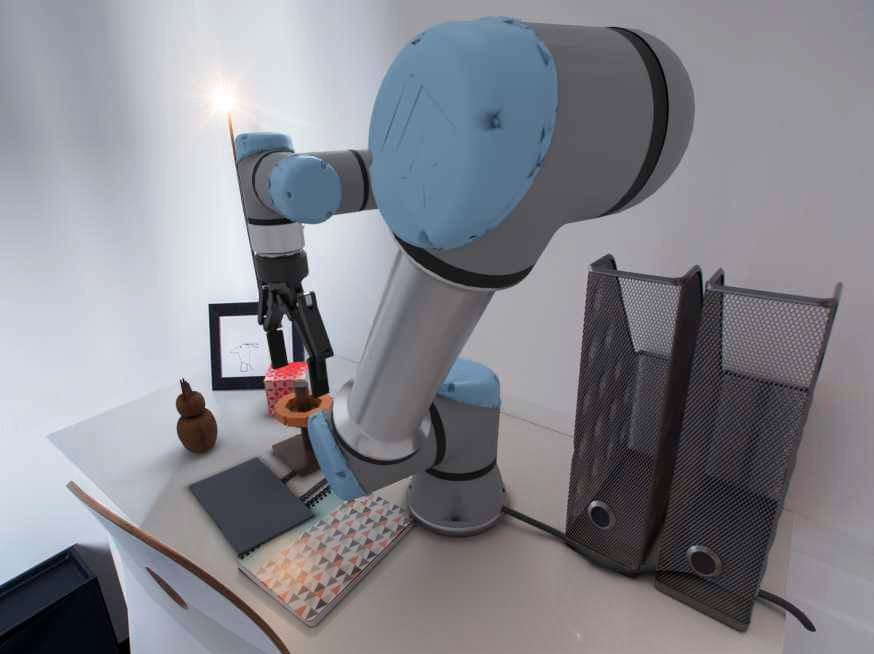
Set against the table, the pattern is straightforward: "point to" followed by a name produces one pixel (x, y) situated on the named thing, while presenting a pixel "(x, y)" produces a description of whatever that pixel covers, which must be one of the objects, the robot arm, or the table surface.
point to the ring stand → (299, 438)
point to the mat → (250, 504)
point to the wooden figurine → (195, 421)
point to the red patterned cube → (284, 381)
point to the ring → (299, 418)
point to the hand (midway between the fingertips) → (299, 380)
